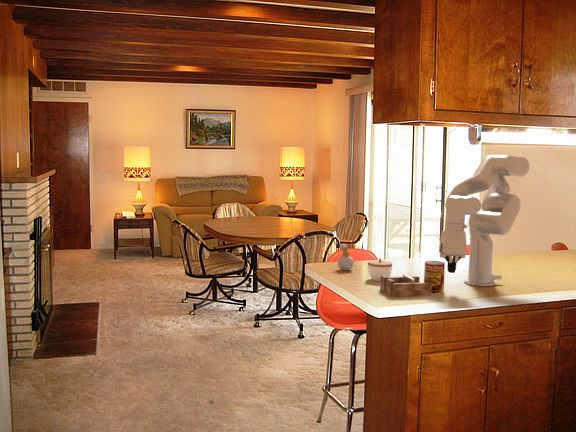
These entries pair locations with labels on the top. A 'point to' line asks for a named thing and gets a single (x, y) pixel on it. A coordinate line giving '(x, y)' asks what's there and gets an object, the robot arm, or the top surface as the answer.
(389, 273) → the lidded jar
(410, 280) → the pusher
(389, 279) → the brown wooden frame
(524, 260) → the top surface
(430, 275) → the canned food
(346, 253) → the perfume bottle
